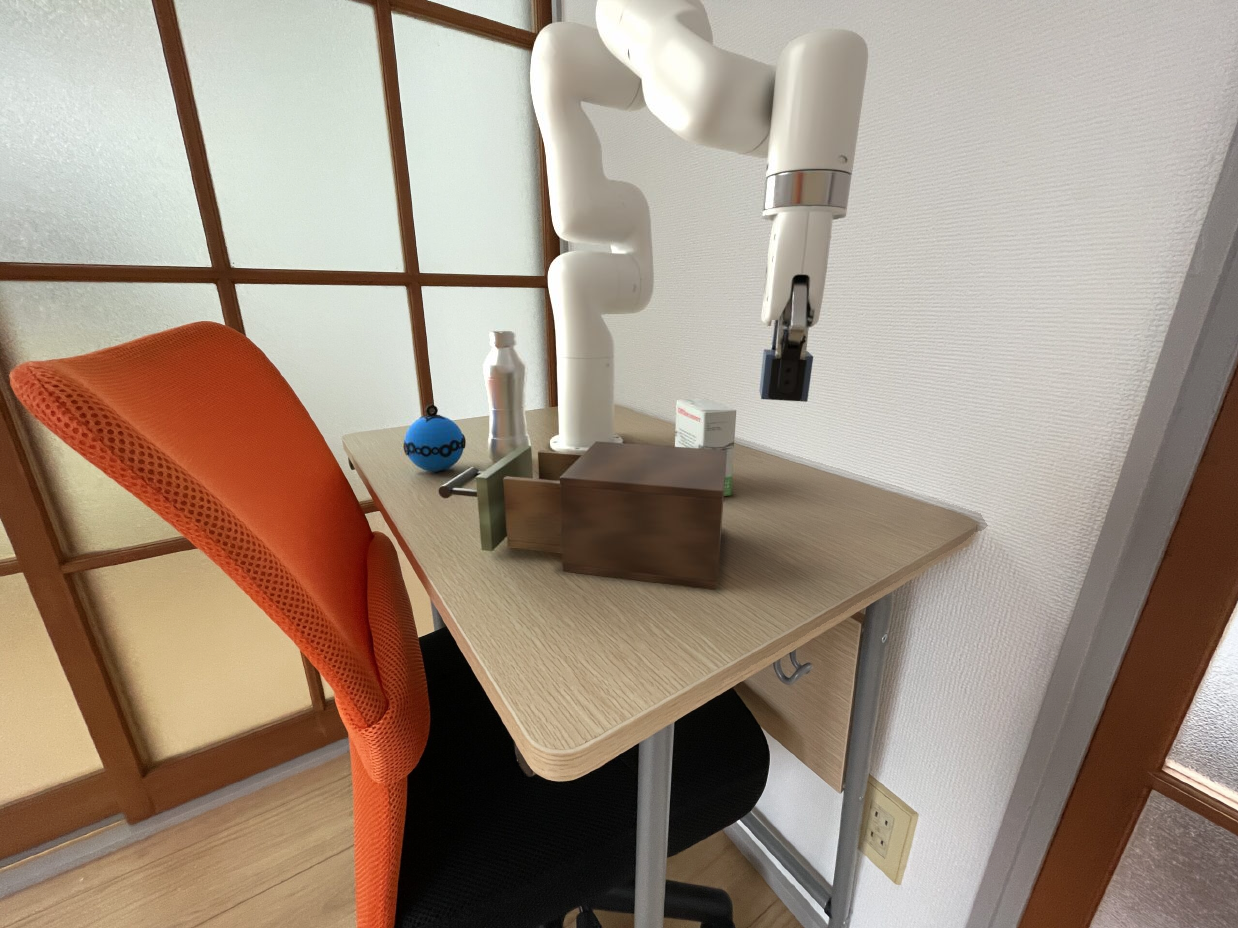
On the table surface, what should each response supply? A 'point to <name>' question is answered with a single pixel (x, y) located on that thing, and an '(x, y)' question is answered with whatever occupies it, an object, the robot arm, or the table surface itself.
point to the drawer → (518, 499)
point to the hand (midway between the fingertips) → (782, 392)
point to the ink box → (707, 429)
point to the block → (767, 368)
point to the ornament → (434, 442)
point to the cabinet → (644, 513)
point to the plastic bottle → (505, 396)
